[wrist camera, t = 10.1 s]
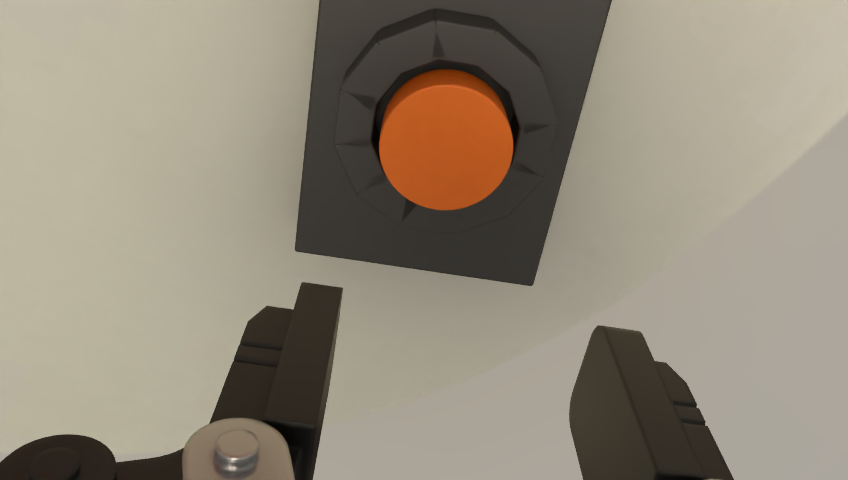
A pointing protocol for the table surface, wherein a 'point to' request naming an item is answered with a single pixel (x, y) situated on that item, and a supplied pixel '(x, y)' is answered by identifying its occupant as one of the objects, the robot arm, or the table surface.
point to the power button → (445, 140)
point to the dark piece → (413, 55)
